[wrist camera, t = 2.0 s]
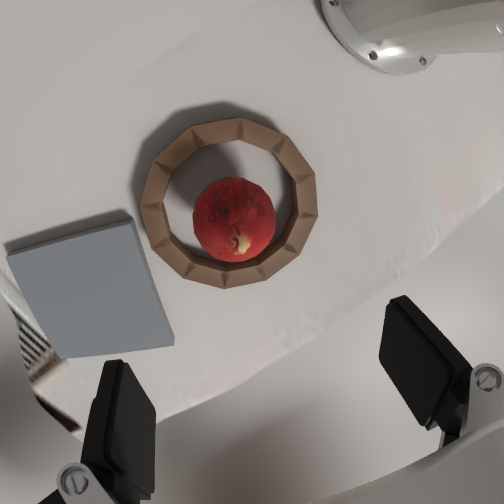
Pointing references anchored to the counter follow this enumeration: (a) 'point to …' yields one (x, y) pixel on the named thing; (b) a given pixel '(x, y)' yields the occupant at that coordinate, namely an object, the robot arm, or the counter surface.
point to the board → (93, 292)
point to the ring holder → (272, 255)
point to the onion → (234, 219)
